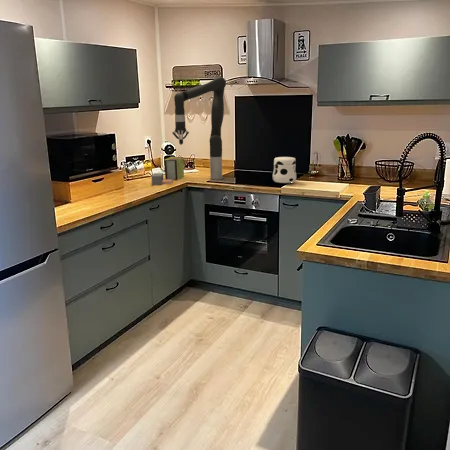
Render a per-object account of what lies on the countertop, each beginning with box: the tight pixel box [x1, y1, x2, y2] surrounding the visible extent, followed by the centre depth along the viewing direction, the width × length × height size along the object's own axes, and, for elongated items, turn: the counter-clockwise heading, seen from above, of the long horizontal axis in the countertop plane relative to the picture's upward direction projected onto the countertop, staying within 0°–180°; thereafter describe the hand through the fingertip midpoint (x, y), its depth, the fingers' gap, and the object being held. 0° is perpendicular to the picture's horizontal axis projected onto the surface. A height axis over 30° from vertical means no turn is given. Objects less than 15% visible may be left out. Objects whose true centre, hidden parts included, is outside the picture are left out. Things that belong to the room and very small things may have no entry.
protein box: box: [163, 156, 185, 181], centre depth 355 cm, size 10×15×16 cm
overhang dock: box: [150, 172, 164, 186], centre depth 337 cm, size 7×12×6 cm, turn 0°
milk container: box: [272, 156, 297, 185], centre depth 329 cm, size 17×17×18 cm
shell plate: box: [162, 178, 174, 185], centre depth 338 cm, size 13×8×2 cm, turn 88°
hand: (181, 144), depth 341 cm, fingers closed
